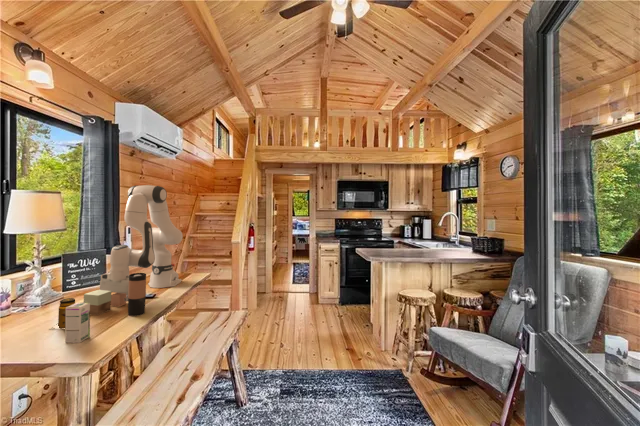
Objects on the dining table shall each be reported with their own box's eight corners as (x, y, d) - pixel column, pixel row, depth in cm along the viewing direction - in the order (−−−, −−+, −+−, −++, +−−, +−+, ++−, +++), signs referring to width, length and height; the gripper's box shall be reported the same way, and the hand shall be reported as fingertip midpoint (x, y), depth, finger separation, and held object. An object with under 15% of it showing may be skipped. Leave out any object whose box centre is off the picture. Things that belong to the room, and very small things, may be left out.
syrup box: (80, 343, 121) (81, 307, 120) (64, 343, 120) (65, 306, 120) (89, 336, 126) (90, 302, 126) (74, 336, 126) (75, 302, 125)
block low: (96, 308, 158) (97, 299, 158) (110, 310, 157) (110, 300, 157) (83, 314, 150) (83, 304, 150) (97, 315, 149) (97, 305, 149)
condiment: (71, 328, 133) (71, 301, 133) (48, 329, 131) (49, 302, 131) (80, 322, 140) (81, 296, 140) (58, 323, 138) (59, 297, 138)
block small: (118, 302, 168) (118, 292, 168) (126, 303, 168) (126, 292, 167) (110, 305, 163) (111, 294, 163) (119, 306, 163) (119, 295, 162)
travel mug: (142, 310, 159) (144, 272, 159) (147, 314, 154) (148, 275, 153) (125, 313, 154) (127, 274, 153) (129, 317, 148) (130, 277, 148)
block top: (97, 299, 158) (97, 289, 158) (111, 300, 157) (111, 291, 157) (83, 304, 150) (83, 294, 150) (98, 305, 149) (98, 295, 149)
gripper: (141, 275, 167) (140, 300, 167) (107, 272, 169) (106, 297, 169) (132, 278, 161) (132, 303, 161) (97, 275, 163) (97, 300, 163)
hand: (118, 300), depth 165 cm, fingers open, 8 cm apart
